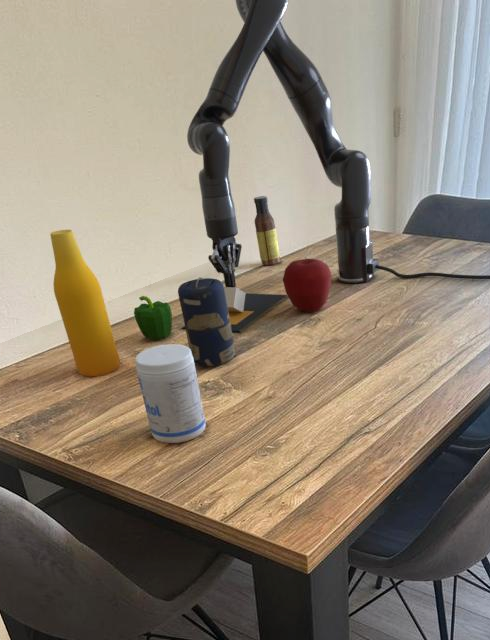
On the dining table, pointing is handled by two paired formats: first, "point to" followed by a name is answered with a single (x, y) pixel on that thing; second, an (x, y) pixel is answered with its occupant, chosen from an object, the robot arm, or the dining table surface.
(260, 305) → the mat
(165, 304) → the bell pepper
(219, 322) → the canister
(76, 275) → the beer bottle
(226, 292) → the matte off-white cube
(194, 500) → the dining table surface
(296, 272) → the apple
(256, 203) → the sauce bottle
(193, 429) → the supplement tub
